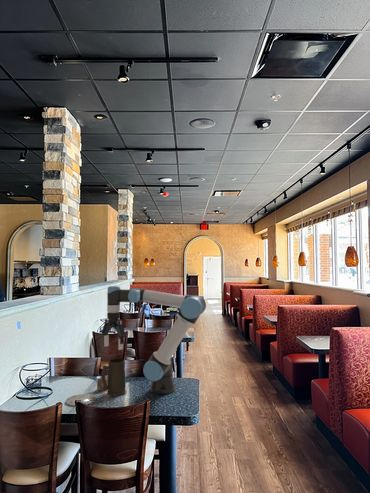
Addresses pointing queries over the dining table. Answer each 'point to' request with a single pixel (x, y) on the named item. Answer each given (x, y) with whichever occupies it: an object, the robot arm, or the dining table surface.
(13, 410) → the dining table surface
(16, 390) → the dining table surface
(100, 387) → the menu block
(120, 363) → the beer stein
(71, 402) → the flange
